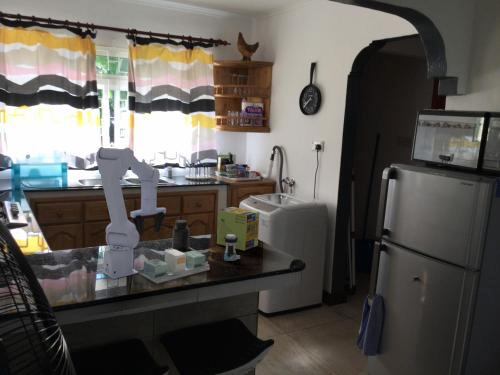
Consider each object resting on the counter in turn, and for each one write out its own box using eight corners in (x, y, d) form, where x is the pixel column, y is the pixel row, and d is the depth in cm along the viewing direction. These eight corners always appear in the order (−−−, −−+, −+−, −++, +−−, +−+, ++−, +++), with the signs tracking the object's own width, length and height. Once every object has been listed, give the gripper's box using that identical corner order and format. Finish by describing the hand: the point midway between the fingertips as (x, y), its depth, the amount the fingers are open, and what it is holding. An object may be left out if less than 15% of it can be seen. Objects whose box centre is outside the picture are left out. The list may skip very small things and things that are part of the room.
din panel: (156, 283, 136) (157, 269, 136) (139, 274, 144) (139, 260, 143) (209, 269, 152) (209, 256, 151) (191, 261, 159) (191, 249, 159)
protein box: (245, 251, 176) (247, 215, 174) (216, 243, 185) (217, 209, 182) (258, 245, 185) (260, 211, 183) (230, 239, 193) (231, 206, 191)
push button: (238, 257, 167) (239, 233, 166) (241, 261, 162) (242, 236, 161) (222, 258, 166) (223, 233, 164) (224, 262, 160) (225, 237, 159)
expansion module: (176, 273, 144) (176, 256, 143) (164, 267, 149) (164, 251, 148) (185, 270, 147) (186, 254, 146) (173, 265, 152) (174, 249, 151)
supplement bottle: (182, 245, 179) (183, 218, 177) (192, 249, 174) (192, 221, 172) (169, 248, 175) (169, 220, 173) (178, 252, 170) (178, 223, 168)
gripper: (137, 202, 151) (137, 238, 153) (170, 198, 162) (170, 232, 164) (127, 199, 156) (127, 234, 158) (160, 195, 166) (159, 228, 168)
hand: (148, 233), depth 161 cm, fingers open, 7 cm apart
